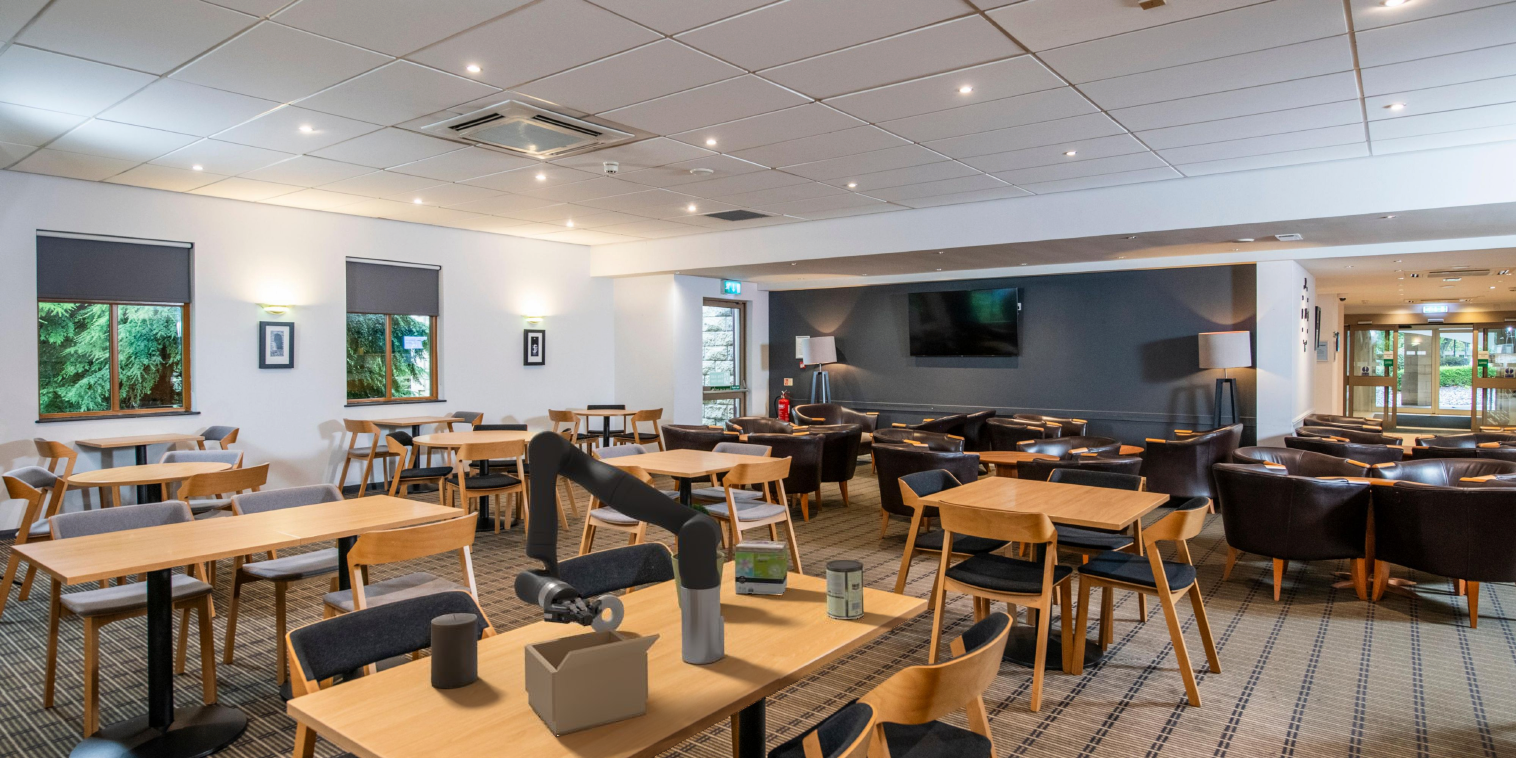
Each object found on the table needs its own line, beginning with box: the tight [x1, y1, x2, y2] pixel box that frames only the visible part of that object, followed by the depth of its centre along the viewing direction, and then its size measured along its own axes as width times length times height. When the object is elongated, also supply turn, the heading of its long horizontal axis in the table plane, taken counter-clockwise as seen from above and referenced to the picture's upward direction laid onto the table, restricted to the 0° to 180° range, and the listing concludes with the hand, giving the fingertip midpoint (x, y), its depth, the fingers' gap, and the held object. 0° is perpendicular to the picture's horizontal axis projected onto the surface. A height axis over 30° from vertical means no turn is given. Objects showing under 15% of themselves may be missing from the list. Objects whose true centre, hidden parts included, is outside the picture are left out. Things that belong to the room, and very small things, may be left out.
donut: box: [590, 594, 625, 632], centre depth 209 cm, size 10×4×10 cm, turn 129°
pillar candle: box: [430, 612, 479, 689], centre depth 178 cm, size 10×10×15 cm
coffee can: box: [825, 559, 865, 620], centre depth 222 cm, size 10×10×14 cm
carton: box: [524, 629, 649, 737], centre depth 161 cm, size 19×19×12 cm
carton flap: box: [557, 633, 661, 672], centre depth 150 cm, size 17×9×1 cm
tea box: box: [734, 539, 788, 595], centre depth 248 cm, size 15×10×15 cm, turn 80°
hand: (588, 620), depth 160 cm, fingers closed
